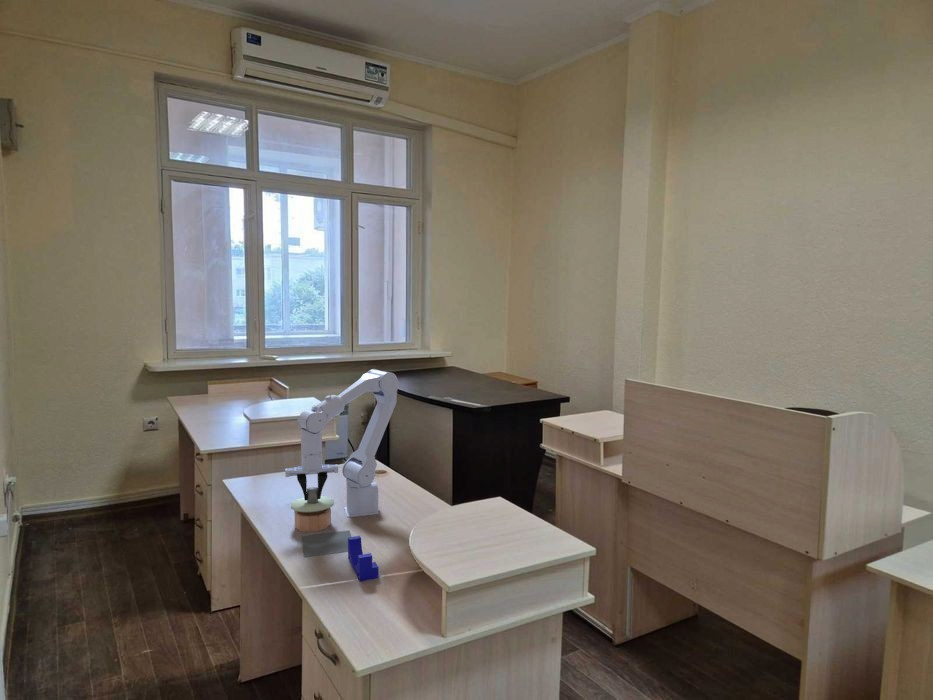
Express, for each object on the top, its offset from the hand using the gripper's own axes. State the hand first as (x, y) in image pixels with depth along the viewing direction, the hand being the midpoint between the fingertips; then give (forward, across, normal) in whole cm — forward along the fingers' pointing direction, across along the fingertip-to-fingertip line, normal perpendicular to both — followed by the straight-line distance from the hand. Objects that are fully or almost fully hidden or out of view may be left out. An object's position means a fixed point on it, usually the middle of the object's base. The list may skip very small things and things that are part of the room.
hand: (312, 498), depth 167 cm
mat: (+8, +3, -14) cm, 16 cm away
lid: (+2, 0, 0) cm, 2 cm away
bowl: (+8, 0, 0) cm, 8 cm away
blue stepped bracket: (+8, +10, -30) cm, 33 cm away
